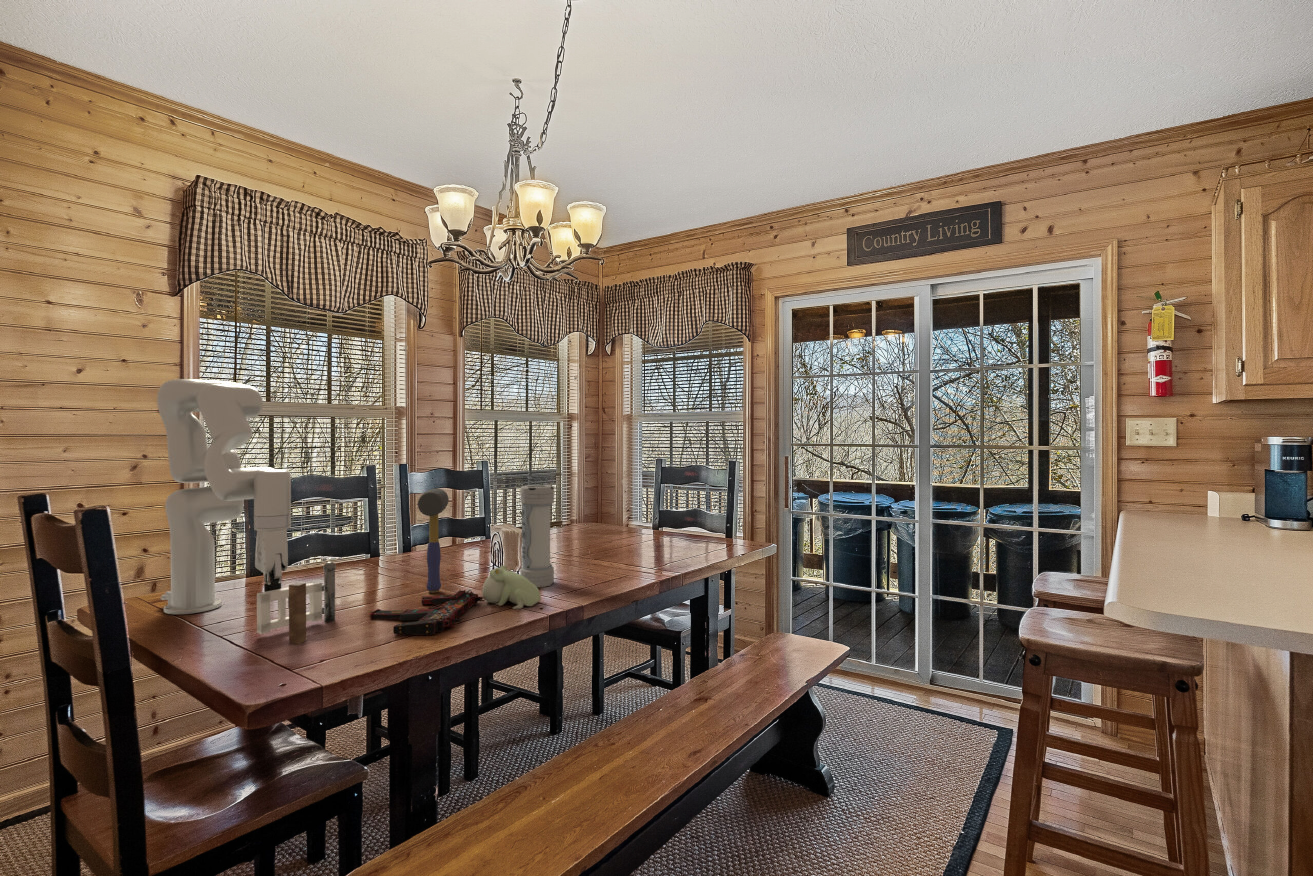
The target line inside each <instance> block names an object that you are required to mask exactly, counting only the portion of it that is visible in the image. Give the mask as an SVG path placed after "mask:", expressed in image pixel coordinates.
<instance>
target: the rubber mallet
mask: <svg viewBox="0 0 1313 876" xmlns="http://www.w3.org/2000/svg"><path fill="white" fill-rule="evenodd" d="M449 499H450V498H449V495H448V493H447V492H446V491H445V490H444V489H441V488H431V489H428V490H426V491H424V492H423V493H422V494H421V495H420V497H419V499H418V501H417V507H418V511H419V512H420V513H422V514H423V515H424V516H427V517H429V522H428V523H429V527H428V528H429V530H428V531H429V539H428V540H429V541H428V544H427V548H426V549H427V551H426V563H427V583H426V589H427V591H428V592H429V593H438V592H440V590H441V588H442V582H441V579H440V578H441V574H440V573H441V572H440V570H441V568H440V566H441V558H442V555H441V544H440V542H439V540H440V539H439V532H440V531H439V514H441V513H442V512H443V511H445V509H446V508H447V506H448V505H449Z"/></svg>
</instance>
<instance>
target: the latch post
mask: <svg viewBox="0 0 1313 876" xmlns="http://www.w3.org/2000/svg"><path fill="white" fill-rule="evenodd" d="M306 584H307V583H306V582H294V583H290V584H289V585H288V587H289V597H288V598H287V599H288V602H287V603H288V604H287V607H288V616H289V626H288V643H289V645H290V644H293V645H300V644H302V643H305V642H307V621H306V612H307V594H306Z"/></svg>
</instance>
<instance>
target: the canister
mask: <svg viewBox="0 0 1313 876" xmlns="http://www.w3.org/2000/svg"><path fill="white" fill-rule="evenodd" d="M554 502H555V486H553V485H548V484H529V485H528V484H527V485H523V486H521V487H520V503H521V505H522V507H521V508H522V509H521V517H522V519H521V526H522V528H521V541H522V543H521V544H522V545H521V557H522V558H521V563H522V564H521V565H522V567H521V568H520V575H522V576H524V577H525V578H527V579H528V580H529V581H530V582H531V583H533V584H534V585H535V586H536V587H537V588H538V589H539V588H546V587H547V586H548V587H550V586H551V585H553V584H554V583H555V582H554V581H555V577H554V575H555V570H554V566H553V564H552V563H551V506H553V503H554Z"/></svg>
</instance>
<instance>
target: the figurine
mask: <svg viewBox="0 0 1313 876" xmlns="http://www.w3.org/2000/svg"><path fill="white" fill-rule="evenodd" d="M481 592H482V597H484V598H483V600H484V601H485V602H488V603H489V604H490V603H491V604H495V605H498V606H499V607H501V606H503V605H504V604H506V602H510V603H512V604H514V605H515V606H512V607H511V608H512V609H513V610H515V609H516V610H518V609H519V610H520V609H523V608H524V606H525V607H526V606H527V607H532V606H534V605H536V604H537V603H538V602H540V601H541V592H540V589H539V588H537V587H536V586H535V585H534V584H533V583H531V582H530V581H529V580H528V579H527V578H525V577H524V576H522V575H521V573H520V574H519V573H517V572H515V571H510V570H508V567H507V566H505V564H504V565H500V567H496V568H494V569H491V570H490V571H489V576H488V577H487V578H486V579H485V581H484V583H483V585H482V591H481Z"/></svg>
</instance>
